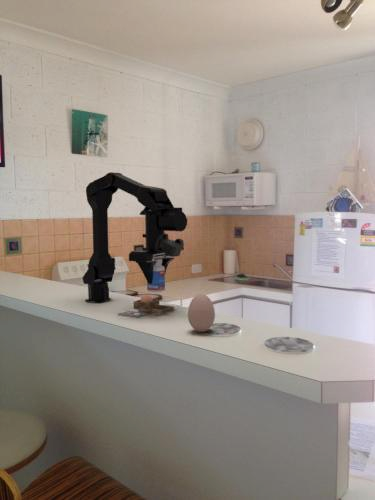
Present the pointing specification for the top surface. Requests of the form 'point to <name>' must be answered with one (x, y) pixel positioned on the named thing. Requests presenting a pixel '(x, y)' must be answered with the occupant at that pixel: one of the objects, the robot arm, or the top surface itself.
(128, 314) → the slate card
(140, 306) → the walnut frame
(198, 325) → the egg
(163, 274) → the pill bottle
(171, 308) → the walnut socket
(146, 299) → the terracotta ball
